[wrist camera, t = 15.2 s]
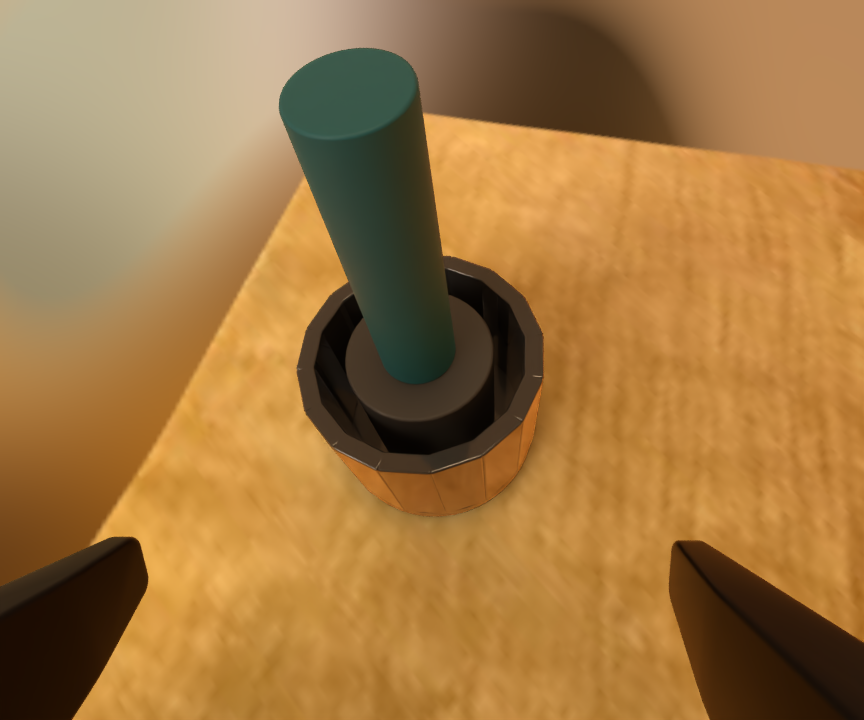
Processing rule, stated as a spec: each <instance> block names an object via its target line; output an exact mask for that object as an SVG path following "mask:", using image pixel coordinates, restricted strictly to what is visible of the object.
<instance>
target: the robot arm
mask: <svg viewBox="0 0 864 720" xmlns="http://www.w3.org/2000/svg"><path fill="white" fill-rule="evenodd" d="M147 586H148V573H147V569H146V565H145V561H144V557H143V553H142V549H141V545H140V543H139V541H138V540H137V539H136V538H134V537H111V538H108V539H106V540H103V541H101V542H99V543H97V544H94V545H92V546H90V547H88V548H86V549H83V550H81V551H79V552H77V553H74V554H72V555H70V556H68V557H65V558H63V559H61V560H59V561H56V562H54V563H52V564H50V565H47V566H45V567H43V568H41V569H38V570H36V571H34V572H32V573H29V574H27V575H25V576H23V577H21V578H18V579H16V580H14V581H12V582H9V583H7V584H5V585H3V586H0V720H72V719H73V717H74V716H75V714H76V713H77V711H78V710H79V708H80V707H81V705H82V704H83V702H84V700H85V699H86V697H87V696H88V694H89V693H90V691H91V690H92V688H93V686H94V685H95V683H96V681H97V680H98V678H99V677H100V675H101V673H102V671H103V669H104V668H105V666H106V664H107V662H108V661H109V659H110V657H111V655H112V653H113V651H114V649H115V648H116V646H117V644H118V642H119V640H120V638H121V636H122V635H123V633H124V631H125V629H126V627H127V625H128V623H129V622H130V620H131V618H132V616H133V614H134V612H135V610H136V609H137V607H138V605H139V603H140V601H141V599H142V597H143V596H144V594H145V592H146V589H147ZM669 594H670V599H671V603H672V606H673V609H674V612H675V616H676V619H677V622H678V625H679V628H680V632H681V635H682V638H683V641H684V645H685V648H686V651H687V654H688V657H689V661H690V664H691V667H692V670H693V674H694V677H695V680H696V683H697V686H698V689H699V692H700V695H701V698H702V701H703V703H704V706H705V708H706V711H707V713H708V716H709V718H710V720H864V643H863V642H862V641H860V640H859V639H857V638H855V637H854V636H852V635H851V634H849V633H848V632H846V631H844V630H843V629H841V628H840V627H838V626H836V625H835V624H833V623H832V622H830V621H828V620H827V619H825V618H824V617H822V616H821V615H819V614H817V613H816V612H814V611H813V610H811V609H809V608H808V607H806V606H805V605H803V604H802V603H800V602H798V601H797V600H795V599H794V598H792V597H790V596H789V595H787V594H786V593H784V592H783V591H781V590H779V589H778V588H776V587H775V586H773V585H771V584H770V583H768V582H767V581H765V580H764V579H762V578H760V577H759V576H757V575H756V574H754V573H752V572H751V571H749V570H748V569H746V568H744V567H743V566H741V565H740V564H738V563H737V562H735V561H733V560H732V559H730V558H729V557H727V556H725V555H724V554H722V553H721V552H719V551H718V550H716V549H714V548H713V547H711V546H710V545H708V544H706V543H705V542H703V541H681V540H678V541H676V542H675V543H674V544H673V546H672V551H671V563H670V576H669Z"/></svg>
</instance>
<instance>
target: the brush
mask: <svg viewBox="0 0 864 720" xmlns="http://www.w3.org/2000/svg"><path fill="white" fill-rule="evenodd" d="M279 111H280V115H281V118H282V121H283V123H284V126H285V128H286V130H287V133H288V135H289V138H290V140H291V143H292V145H293V147H294V150H295V152H296V155H297V157H298V160H299V162H300V164H301V167H302V169H303V172H304V174H305V177H306V179H307V181H308V184H309V186H310V189H311V191H312V194H313V196H314V198H315V201H316V203H317V206H318V208H319V211H320V213H321V215H322V218H323V220H324V223H325V225H326V228H327V230H328V232H329V235H330V237H331V240H332V242H333V245H334V247H335V249H336V252H337V254H338V257H339V259H340V262H341V264H342V266H343V269H344V271H345V274H346V276H347V279H348V281H349V283H350V286H351V288H352V291H353V293H354V296H355V298H356V300H357V303H358V305H359V308H360V310H361V313H362V315H363V318H362V320H361V321H360V322H359V323H358V325H357V326H356V328H355V330H354V331H353V333H352V335H351V338H350V340H349V343H348V346H347V350H346V358H345V366H346V373H347V377H348V380H349V383H350V386H351V387H352V389H353V391H354V393H355V395H356V397H357V398H358V400H359V402H360V404H361V405H362V407H363V409H364V411H365V412H366V414H367V416H368V418H369V419H370V421H371V423H372V425H373V426H374V428H375V430H376V431H377V433H378V435H379V437H380V438H381V440H382V442H383V444H384V445H385V447H386V448H387V450H388V451H389V452H391V453H409V454H426V455H429V454H432V453H435V452H438V451H441V450H444V449H447V448H450V447H453V446H456V445H459V444H462V443H465V442H468V441H471V440H473V439H474V438H476V437H477V436H478V435H479V434H480V433H481V432H483V431H484V430H485V429H486V428H487V427H488V426H490V425H491V424H492V423H493V422H494V419H495V403H494V345H493V340H492V336H491V333H490V330H489V328H488V326H487V324H486V323H485V321H484V320H483V318H482V317H481V316H480V315H479V314H478V313H477V312H476V310H475V309H473V308H472V307H471V306H470V305H468V304H467V303H465V302H464V301H462V300H460V299H458V298H456V297H454V296H451V295H448V290H447V282H446V275H445V268H444V261H443V254H442V247H441V240H440V233H439V226H438V219H437V212H436V204H435V197H434V190H433V183H432V176H431V169H430V162H429V155H428V148H427V141H426V134H425V126H424V119H423V112H422V105H421V98H420V91H419V84H418V78H417V75H416V73H415V71H414V70H413V68H412V67H411V65H410V64H409V63H408V62H407V61H406V60H404V59H403V58H402V57H400V56H398V55H396V54H394V53H392V52H389V51H385V50H380V49H374V48H355V49H347V50H341V51H337V52H334V53H330V54H327V55H324V56H322V57H320V58H318V59H316V60H314V61H311V62H310V63H308V64H306V65H305V66H303V67H302V68H301V69H299V70H298V71H297V72H296V73H295V74H294V75H293V76H292V77H291V78H290V79H289V80H288V81H287V83H286V84H285V86H284V87H283V90H282V92H281V95H280V99H279Z"/></svg>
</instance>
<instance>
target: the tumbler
mask: <svg viewBox="0 0 864 720" xmlns="http://www.w3.org/2000/svg"><path fill="white" fill-rule="evenodd" d="M443 261H444V268H445V275H446V282H447V290H448V295H451V296H454V297H456V298H458V299H460V300H462V301H464V302H465V303H467V304H468V305H470V306H471V307H472V308H473V309H475V310H476V312H477V313H478V314H479V315H480V316H481V317H482V318H483V320H484V321H485V323H486V324H487V326H488V328H489V330H490V333H491V336H492V340H493V345H494V403H495V419H494V422H493V423H492V424H491V425H490V426H488V427H487V428H486V429H485V430H484V431H483V432H481V433H480V434H479V435H478V436H477V437H476V438H474V439H473V440H471V441H468V442H465V443H462V444H459V445H456V446H453V447H450V448H447V449H444V450H441V451H438V452H435V453H432V454H429V455H426V454H409V453H391V452H389V451H388V450H387V448H386V447H385V445H384V444H383V442H382V440H381V438H380V437H379V435H378V433H377V431H376V430H375V428H374V426H373V425H372V423H371V421H370V419H369V418H368V416H367V414H366V412H365V411H364V409H363V407H362V405H361V404H360V402H359V400H358V398H357V397H356V395H355V393H354V391H353V389H352V387H351V386H350V383H349V380H348V377H347V373H346V366H345V358H346V350H347V346H348V343H349V340H350V338H351V335H352V333H353V331H354V330H355V328H356V326H357V325H358V323H359V322H360V321H361V320H362V318H363V315H362V313H361V310H360V308H359V305H358V303H357V300H356V298H355V296H354V293H353V291H352V288H351V286H350V283H349V282H347V283H346V284H345V285H343V286H342V287H340V288H339V289H338V290H336V291H335V292H333V293H332V295H330V296H329V298H328V299H327V300H326V302H325V303H324V305H323V306H322V307H321V309H320V310H319V312H318V313H317V314H316V316H315V317H314V319H313V320H312V321H311V323H310V324H309V326H308V327H307V330H306V332H305V336H304V340H303V345H302V349H301V353H300V357H299V361H298V365H297V377H298V382H299V387H300V392H301V397H302V402H303V407H304V411H305V412H306V415H307V416H308V418H309V419H310V420H311V422H312V423H313V424H314V426H315V427H316V428H317V430H318V431H319V432H320V433H321V435H322V436H323V437H324V439H325V440H326V441H327V443H328V444H329V445H330V446H331V448H332V449H333V450H334V451H335V452H336V454H337V455H338V456H339V457H340V458H341V459H342V461H343V462H344V463H345V464H346V465H347V466H348V468H349V469H350V470H351V471H352V472H353V473H354V475H355V476H356V477H357V478H358V479H359V480H360V482H361V483H362V484H363V485H364V486H365V488H366V489H367V490H368V491H370V493H372V494H374V495H375V496H376V497H378V498H379V499H380V500H382V501H383V502H385V503H387V504H388V505H390V506H392V507H394V508H397V509H399V510H401V511H404V512H408V513H411V514H415V515H422V516H448V515H455V514H459V513H463V512H466V511H469V510H472V509H474V508H476V507H479V506H481V505H482V504H484V503H486V502H488V501H489V500H491V499H492V498H494V497H495V496H496V495H498V494H499V493H500V492H501V491H502V490H503V489H504V488H505V487H506V486H507V485H508V484H509V483H510V482H511V481H512V480H513V478H514V477H515V476H516V474H517V473H518V472H519V470H520V468H521V466H522V464H523V462H524V461H525V458H526V455H527V453H528V450H529V446H530V444H531V442H532V439H533V435H534V430H535V424H536V418H537V413H538V407H539V401H540V396H541V390H542V384H543V379H544V343H543V333H542V331H541V329H540V327H539V325H538V323H537V321H536V319H535V317H534V315H533V313H532V311H531V309H530V307H529V305H528V303H527V301H526V299H525V297H524V296H523V295H522V294H521V293H519V292H518V291H517V290H516V289H515V288H513V287H512V286H511V285H510V284H509V283H507V282H506V281H505V280H504V279H503V278H501V277H500V276H499V275H498V274H497V273H495V272H494V271H492V270H491V269H488V268H486V267H483V266H480V265H477V264H474V263H471V262H468V261H465V260H462V259H459V258H456V257H451V256H443Z"/></svg>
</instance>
